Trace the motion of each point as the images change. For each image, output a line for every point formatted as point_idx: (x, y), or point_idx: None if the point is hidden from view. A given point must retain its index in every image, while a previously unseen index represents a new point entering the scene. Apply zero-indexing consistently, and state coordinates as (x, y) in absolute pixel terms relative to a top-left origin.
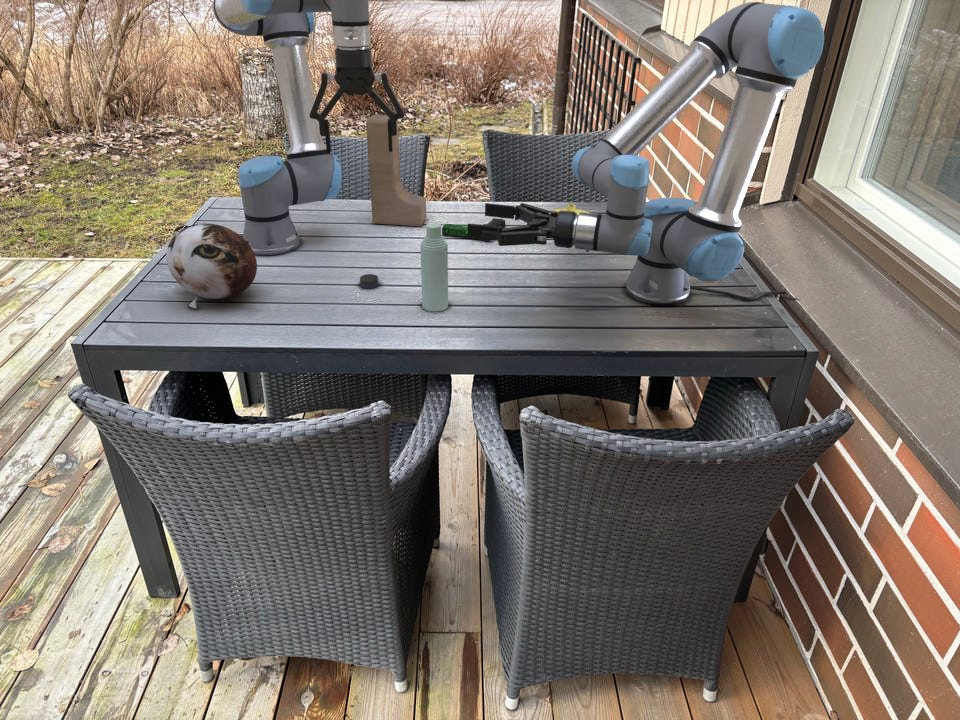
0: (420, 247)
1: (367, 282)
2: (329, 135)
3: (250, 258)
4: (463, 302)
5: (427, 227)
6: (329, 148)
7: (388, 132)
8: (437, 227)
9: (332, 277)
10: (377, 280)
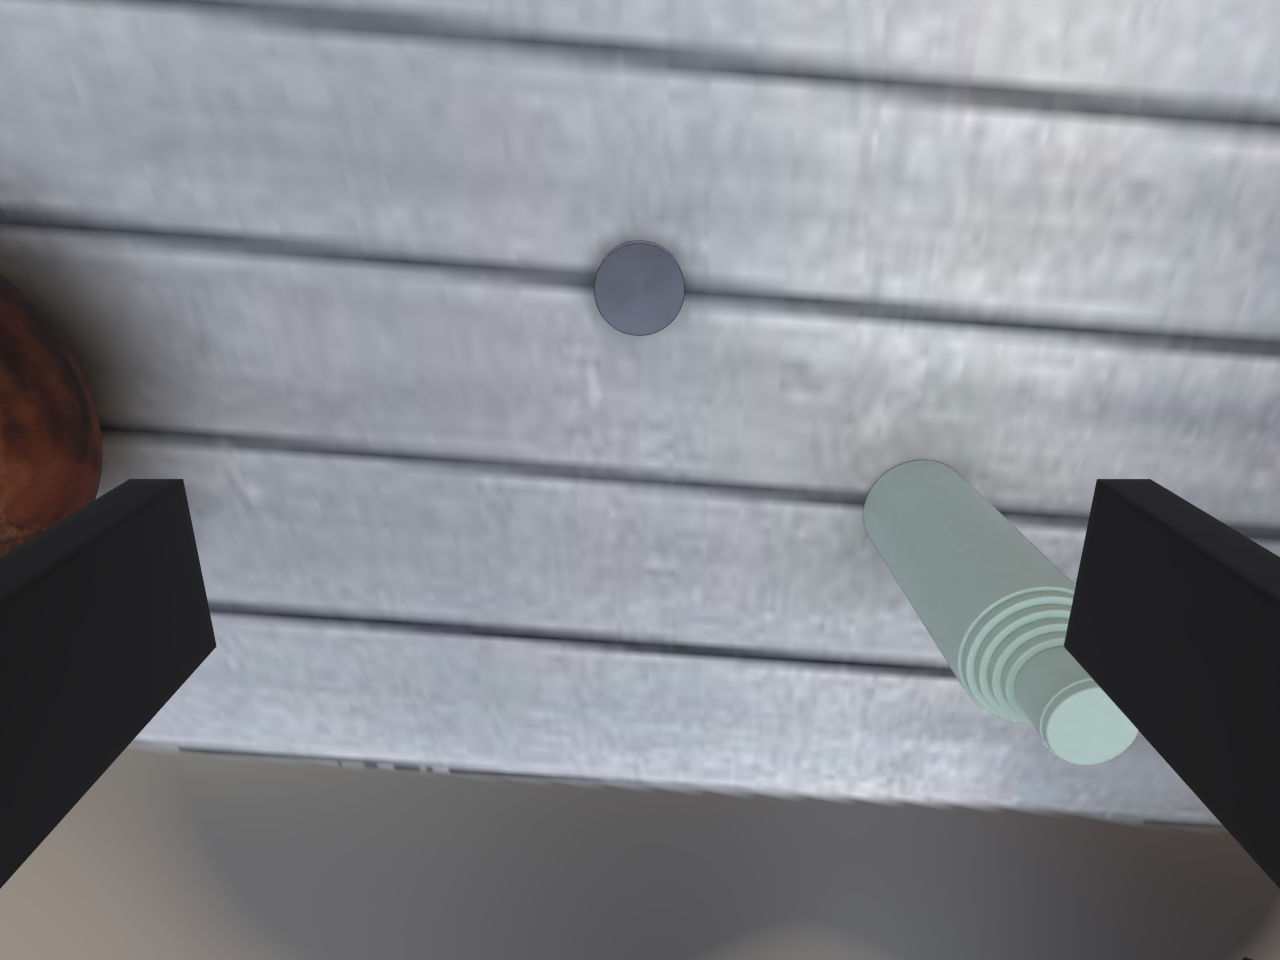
0: (953, 653)
1: (633, 334)
2: (44, 675)
3: (33, 512)
4: (1039, 487)
5: (1047, 742)
6: (180, 680)
7: (1266, 859)
8: (1108, 759)
9: (448, 176)
10: (680, 306)
